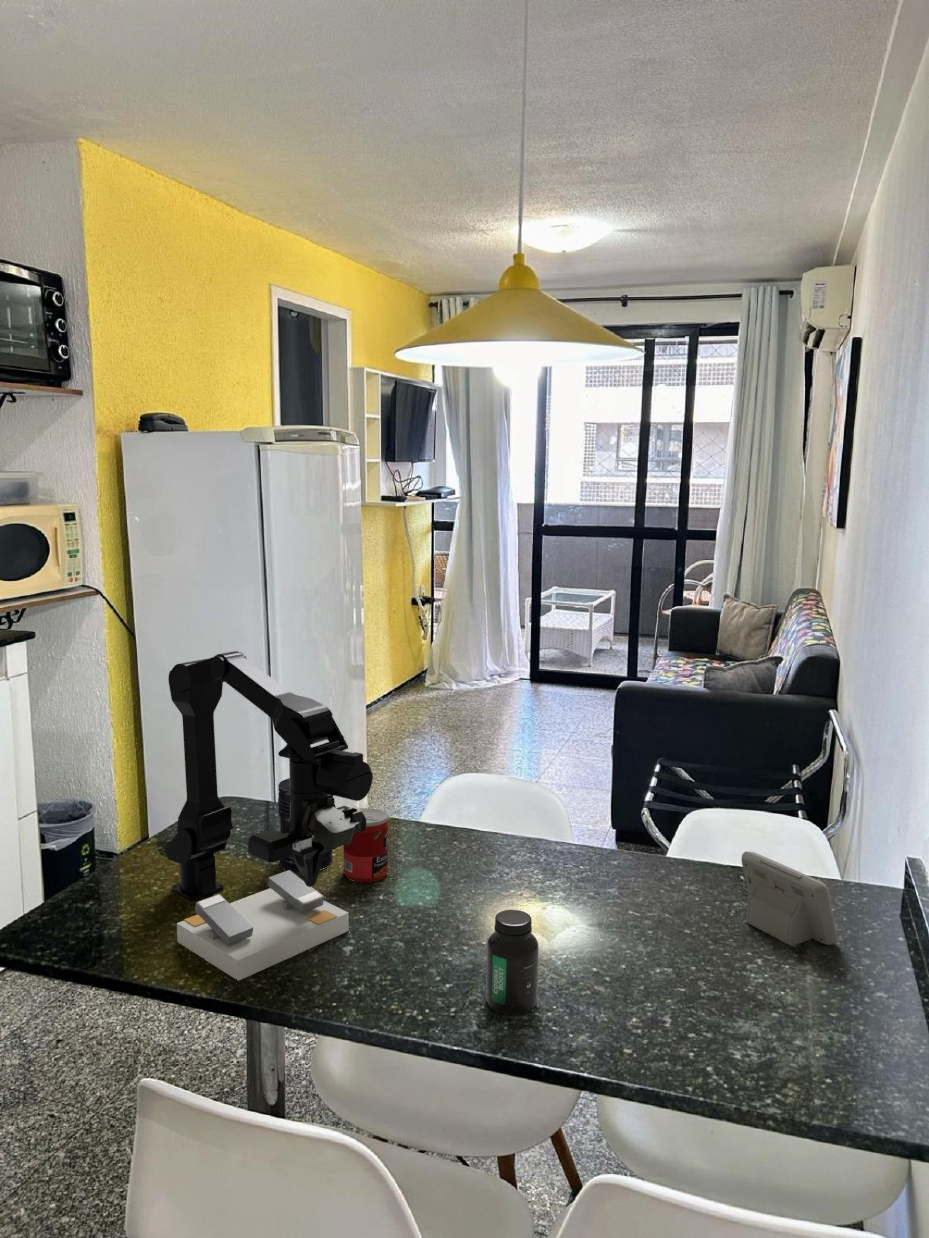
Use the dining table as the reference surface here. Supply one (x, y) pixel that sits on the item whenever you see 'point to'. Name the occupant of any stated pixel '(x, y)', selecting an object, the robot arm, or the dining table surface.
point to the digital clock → (787, 902)
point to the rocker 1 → (224, 919)
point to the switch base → (263, 933)
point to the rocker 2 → (295, 891)
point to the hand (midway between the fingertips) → (310, 885)
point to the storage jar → (285, 814)
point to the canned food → (368, 849)
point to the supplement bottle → (512, 964)
